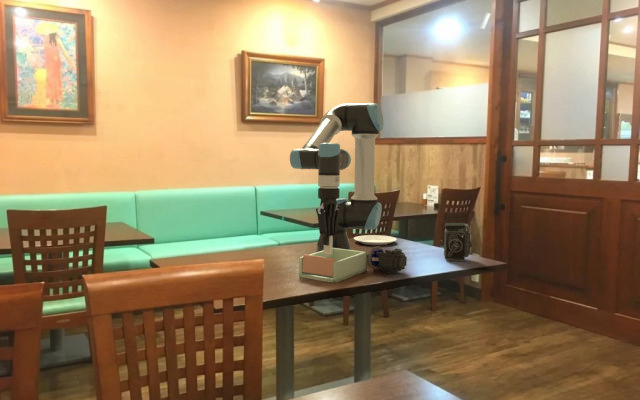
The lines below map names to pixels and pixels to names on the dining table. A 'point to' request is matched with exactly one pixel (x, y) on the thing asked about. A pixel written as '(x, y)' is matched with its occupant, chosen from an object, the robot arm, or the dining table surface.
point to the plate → (375, 239)
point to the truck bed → (340, 264)
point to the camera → (457, 241)
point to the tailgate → (318, 266)
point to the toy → (387, 260)
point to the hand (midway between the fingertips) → (328, 254)
